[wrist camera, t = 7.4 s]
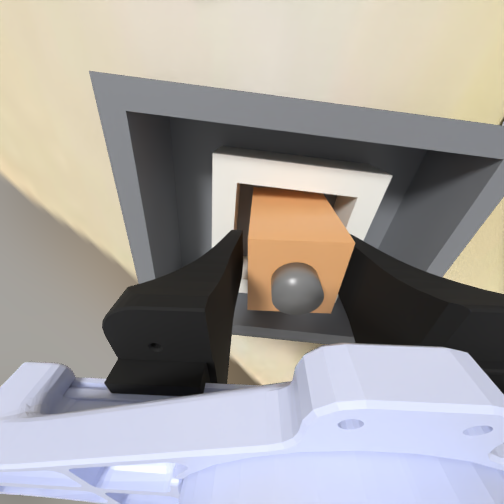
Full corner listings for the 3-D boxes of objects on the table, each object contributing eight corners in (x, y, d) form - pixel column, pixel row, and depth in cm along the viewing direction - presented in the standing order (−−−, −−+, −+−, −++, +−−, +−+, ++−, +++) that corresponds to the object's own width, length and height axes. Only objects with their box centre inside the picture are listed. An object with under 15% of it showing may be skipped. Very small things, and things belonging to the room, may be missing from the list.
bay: (448, 125, 12) (552, 132, 8) (358, 297, 19) (386, 350, 15) (153, 86, 11) (89, 70, 7) (174, 277, 18) (148, 325, 14)
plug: (308, 245, 15) (337, 331, 9) (252, 242, 15) (246, 327, 10) (320, 189, 13) (366, 259, 7) (253, 187, 13) (246, 254, 7)
